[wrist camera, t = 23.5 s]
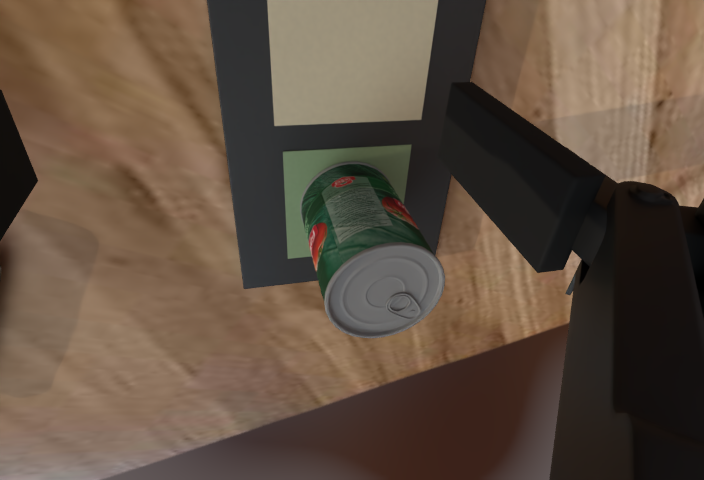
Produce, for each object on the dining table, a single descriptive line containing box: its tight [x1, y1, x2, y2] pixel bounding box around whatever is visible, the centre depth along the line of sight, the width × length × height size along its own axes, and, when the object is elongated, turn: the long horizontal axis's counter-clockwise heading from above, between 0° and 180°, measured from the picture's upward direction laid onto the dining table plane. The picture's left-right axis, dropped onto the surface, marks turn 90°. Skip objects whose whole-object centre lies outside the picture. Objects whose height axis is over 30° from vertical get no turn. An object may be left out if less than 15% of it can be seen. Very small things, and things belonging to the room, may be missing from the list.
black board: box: [207, 0, 486, 289], centre depth 33 cm, size 18×30×1 cm, turn 178°
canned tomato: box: [300, 161, 445, 338], centre depth 32 cm, size 8×8×11 cm
